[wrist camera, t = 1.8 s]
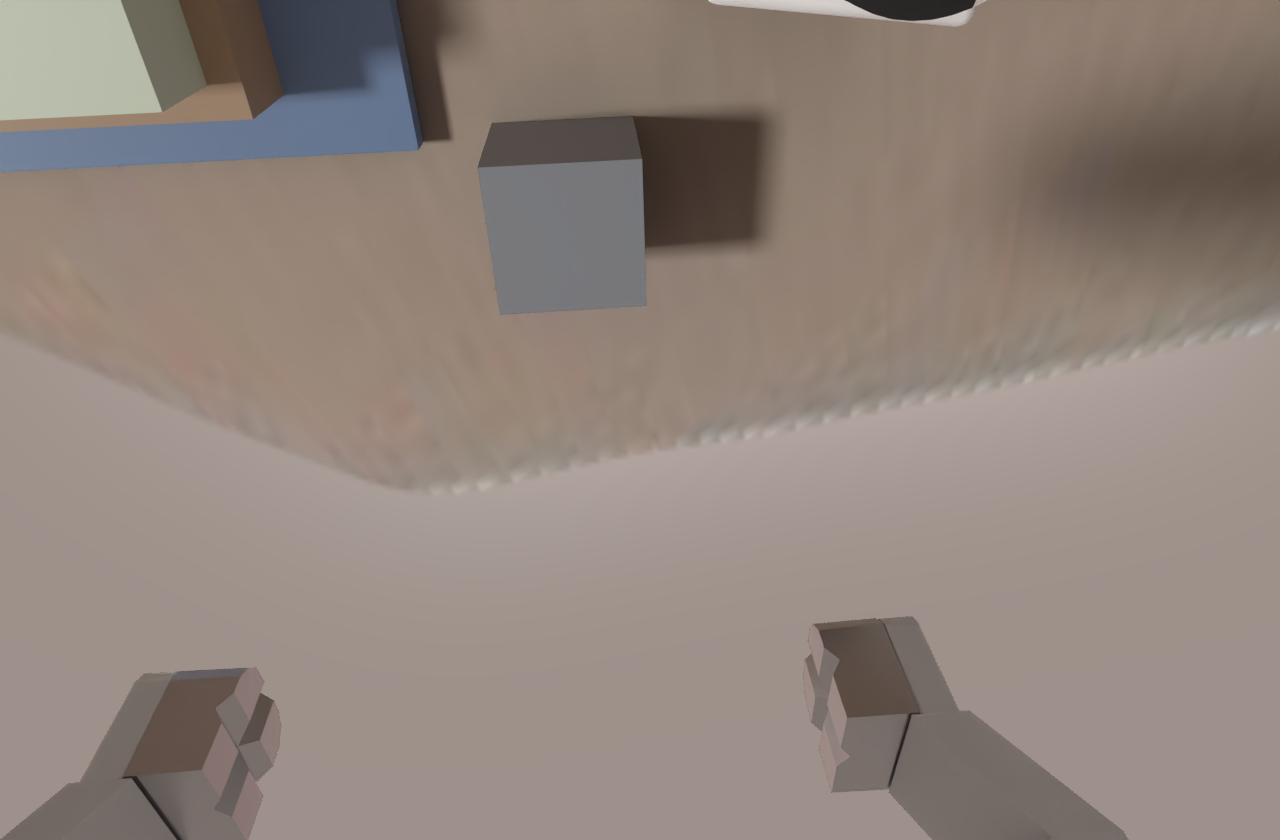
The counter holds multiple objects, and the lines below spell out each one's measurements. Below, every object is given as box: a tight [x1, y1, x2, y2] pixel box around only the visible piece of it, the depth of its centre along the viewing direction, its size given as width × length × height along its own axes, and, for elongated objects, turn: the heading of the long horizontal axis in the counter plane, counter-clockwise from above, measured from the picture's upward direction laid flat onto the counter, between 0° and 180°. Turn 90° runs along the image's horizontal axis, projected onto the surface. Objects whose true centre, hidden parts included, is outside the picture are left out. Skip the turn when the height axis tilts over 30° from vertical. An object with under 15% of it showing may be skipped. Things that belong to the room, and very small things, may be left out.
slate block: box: [478, 116, 647, 315], centre depth 27 cm, size 5×5×5 cm
